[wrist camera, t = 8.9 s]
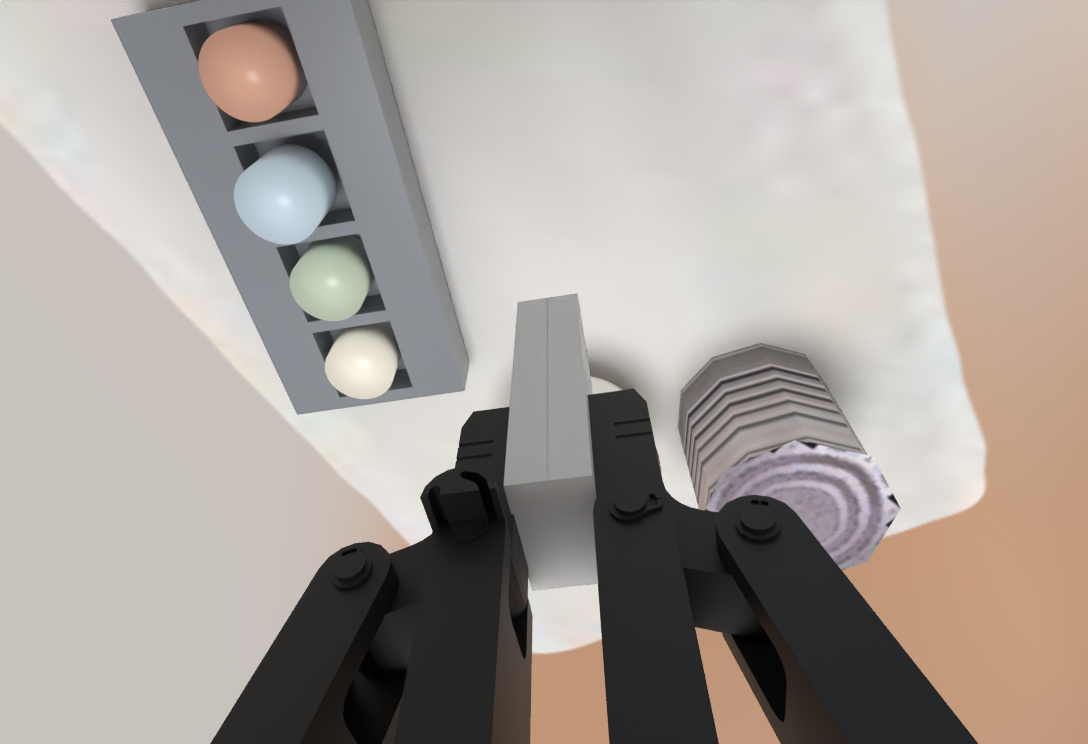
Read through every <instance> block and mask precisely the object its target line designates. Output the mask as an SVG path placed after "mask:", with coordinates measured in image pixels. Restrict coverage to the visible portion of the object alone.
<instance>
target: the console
mask: <svg viewBox="0 0 1088 744" xmlns="http://www.w3.org/2000/svg"><path fill="white" fill-rule="evenodd" d="M253 19H264V20H269V21H272V22H275V23H277V24H279V25H281V26H282V27H284V28H285V29H287V30H288V31H289V32H290V33H291V35H292V38H293V41H294V44H295V47H296V50H297V53H298V56H299V59H300V62H301V64H302V67H303V70H304V73H305V76H306V79H307V82H308V83H307V86H306V89H305V91H304V92H303V94H302V95H301V96H300V98H298V99H297V100H296V101H295V102H293V103H292V104H291V105H289V106H288V107H286V108H285V109H284V110H282V111H281V112H280V113H278V114H277V115H275V116H274V117H272V118H271V119H268V120H266V121H262V122H247V121H242V120H239V119H237V118H234V117H232V116H230V115H229V114H227V113H226V112H224V111H223V110H222V109H220V108H219V107H218V106H217V105H216V104H215V103H214V102H213V100H212V99H211V98H210V97H209V95H208V93H207V92H206V90H205V88H204V86H203V84H202V81H201V78H200V74H199V67H198V60H199V54H200V51H201V48H202V46H203V44H204V42H205V41H206V40H207V39H208V38H209V37H210V36H211V35H212V34H213V33H215V32H217V31H219V30H222V29H225V28H228V27H231V26H233V25H236V24H239V23H242V22H245V21H248V20H253ZM111 21H112V23H113V26H114V28H115V30H116V32H117V34H118V36H119V38H120V40H121V42H122V45H123V47H124V49H125V51H126V53H127V55H128V57H129V59H130V62H131V64H132V66H133V68H134V70H135V72H136V74H137V76H138V78H139V81H140V83H141V85H142V87H143V89H144V91H145V93H146V95H147V98H148V100H149V102H150V104H151V106H152V108H153V110H154V112H155V114H156V117H157V119H158V121H159V123H160V125H161V127H162V129H163V131H164V133H165V136H166V138H167V140H168V142H169V144H170V146H171V148H172V150H173V153H174V155H175V157H176V159H177V161H178V163H179V165H180V167H181V169H182V172H183V174H184V176H185V178H186V180H187V182H188V184H189V186H190V189H191V191H192V193H193V195H194V197H195V199H196V201H197V203H198V205H199V208H200V210H201V212H202V214H203V216H204V218H205V220H206V222H207V225H208V227H209V229H210V231H211V233H212V235H213V237H214V239H215V241H216V244H217V246H218V248H219V250H220V252H221V254H222V256H223V258H224V261H225V263H226V265H227V267H228V269H229V271H230V273H231V275H232V277H233V280H234V282H235V284H236V286H237V288H238V290H239V292H240V294H241V296H242V299H243V301H244V303H245V305H246V307H247V309H248V311H249V313H250V316H251V318H252V320H253V322H254V324H255V326H256V328H257V330H258V332H259V335H260V337H261V339H262V341H263V343H264V345H265V347H266V349H267V352H268V354H269V356H270V358H271V360H272V362H273V364H274V366H275V368H276V371H277V373H278V375H279V377H280V379H281V381H282V383H283V385H284V388H285V390H286V392H287V394H288V396H289V398H290V400H291V402H292V404H293V407H294V409H295V411H296V413H297V415H298V414H305V413H312V412H319V411H326V410H333V409H340V408H347V407H354V406H361V405H368V404H375V403H382V402H389V401H396V400H403V399H410V398H417V397H424V396H431V395H438V394H445V393H452V392H460V391H465V385H466V380H467V374H468V368H469V359H468V356H467V352H466V349H465V345H464V342H463V338H462V334H461V331H460V327H459V324H458V320H457V317H456V313H455V310H454V306H453V302H452V299H451V295H450V292H449V288H448V285H447V281H446V278H445V274H444V270H443V267H442V263H441V260H440V256H439V253H438V249H437V246H436V242H435V238H434V235H433V231H432V228H431V224H430V221H429V217H428V214H427V210H426V206H425V203H424V199H423V196H422V192H421V189H420V185H419V181H418V178H417V174H416V171H415V167H414V164H413V160H412V157H411V153H410V149H409V146H408V142H407V139H406V135H405V132H404V128H403V125H402V121H401V117H400V114H399V110H398V107H397V103H396V100H395V96H394V93H393V89H392V85H391V82H390V78H389V75H388V71H387V68H386V64H385V61H384V57H383V53H382V50H381V46H380V43H379V39H378V36H377V32H376V28H375V25H374V21H373V18H372V14H371V11H370V7H369V4H368V0H198V1H194V2H189V3H184V4H179V5H174V6H170V7H165V8H160V9H155V10H151V11H146V12H141V13H137V14H133V15H128V16H124V17H120V18H115V19H111ZM284 144H295V145H300V146H303V147H306V148H308V149H310V150H312V151H314V152H315V153H317V154H318V155H319V156H320V157H321V158H322V159H323V160H324V161H325V162H326V163H327V164H328V166H329V167H330V169H331V171H332V173H333V175H334V177H335V181H336V187H337V193H336V198H335V202H334V204H333V206H332V207H331V209H330V210H329V212H328V213H327V214H326V216H325V217H324V218H323V220H322V221H321V222H320V224H319V225H318V226H317V228H316V229H315V230H314V232H313V233H312V234H311V235H310V236H309V237H308V238H306V239H305V240H303V241H301V242H298V243H294V244H277V243H273V242H270V241H267V240H265V239H263V238H261V237H259V236H258V235H256V234H255V233H254V232H252V231H251V230H250V229H249V228H248V227H247V226H246V225H245V224H244V222H243V221H242V219H241V218H240V216H239V214H238V212H237V210H236V207H235V203H234V188H235V184H236V182H237V180H238V178H239V176H240V175H241V174H242V173H243V172H244V171H245V170H246V169H247V168H249V167H250V166H251V165H252V164H253V163H255V162H256V161H257V160H258V159H259V158H261V157H262V156H263V155H264V154H265V153H267V152H268V151H269V150H271V149H272V148H274V147H276V146H279V145H284ZM347 235H353V236H355V237H356V238H358V239H360V240H361V241H362V242H363V244H364V247H365V250H366V253H367V256H368V259H369V262H370V265H371V268H372V271H373V273H374V276H375V279H374V281H373V283H372V285H371V287H370V289H369V291H368V293H367V295H366V297H365V299H364V302H363V304H362V306H361V308H360V309H359V310H358V312H357V313H356V314H354V315H353V316H352V317H350V318H348V319H345V320H341V321H325V320H321V319H318V318H316V317H314V316H312V315H310V314H308V313H307V312H306V311H304V310H303V309H302V308H301V307H300V306H299V305H298V304H297V302H296V301H295V299H294V297H293V296H292V293H291V290H290V282H289V281H290V275H291V272H292V270H293V268H294V267H295V265H296V264H297V263H298V261H299V260H300V258H301V257H302V256H303V254H304V253H305V252H306V250H307V249H308V247H309V246H310V245H311V243H312V242H313V241H317V240H323V239H329V238H335V237H341V236H347ZM381 322H389V323H390V324H391V326H392V329H393V331H394V334H395V337H396V340H397V343H398V346H399V349H400V352H401V358H400V361H399V364H398V367H397V370H396V373H395V376H394V379H393V382H392V384H391V386H390V388H389V389H388V390H387V391H386V392H385V393H384V394H382V395H380V396H378V397H375V398H371V399H357V398H353V397H350V396H347V395H345V394H343V393H341V392H340V391H338V390H337V389H336V388H335V387H334V386H333V385H332V384H331V383H330V381H329V380H328V378H327V376H326V373H325V361H326V358H327V356H328V354H329V352H330V350H331V348H332V346H333V344H334V342H335V340H336V338H337V336H338V334H339V332H340V330H341V329H342V328H348V327H355V326H361V325H368V324H374V323H381Z"/></svg>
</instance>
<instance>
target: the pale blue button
mask: <svg viewBox="0 0 1088 744" xmlns="http://www.w3.org/2000/svg"><path fill="white" fill-rule="evenodd" d="M336 193H337V187H336V181H335V177H334V175H333V173H332V171H331V169H330V167H329V166H328V164H327V163H326V162H325V161H324V160H323V159H322V158H321V157H320V156H319V155H318V154H317V153H315V152H314V151H312V150H310V149H308V148H306V147H303V146H300V145H295V144H284V145H279V146H276V147H274V148H272V149H271V150H269V151H268V152H267V153H265V154H264V155H263V156H262V157H261V158H259V159H258V160H257V161H256V162H255V163H253V164H252V165H251V166H250V167H249V168H247V169H246V170H245V171H244V172H243V173H242V174H241V175H240V176H239V178H238V180H237V182H236V184H235V188H234V203H235V207H236V210H237V212H238V214H239V216H240V218H241V219H242V221H243V222H244V224H245V225H246V226H247V227H248V228H249V229H250V230H251V231H252V232H254V233H255V234H256V235H258V236H259V237H261V238H263V239H265V240H267V241H270V242H273V243H277V244H294V243H298V242H301V241H303V240H305V239H306V238H308V237H309V236H310V235H311V234H312V233H313V232H314V230H315V229H316V228H317V226H318V225H319V224H320V222H321V221H322V220H323V218H324V217H325V216H326V214H327V213H328V212H329V210H330V209H331V207H332V206H333V204H334V202H335V198H336Z"/></svg>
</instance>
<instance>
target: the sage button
mask: <svg viewBox="0 0 1088 744" xmlns="http://www.w3.org/2000/svg"><path fill="white" fill-rule="evenodd" d="M374 279H375V276H374V273H373V271H372V268H371V265H370V262H369V259H368V256H367V253H366V250H365V247H364V244H363V242H362V241H361V240H360V239H358V238H356V237H355V236H353V235H347V236H341V237H335V238H329V239H323V240H317V241H313V242H312V243H311V245H310V246H309V247H308V249H307V250H306V252H305V253H304V254H303V256H302V257H301V258H300V260H299V261H298V263H297V264H296V265H295V267H294V268H293V270H292V272H291V275H290V281H289V282H290V290H291V293H292V296H293V297H294V299H295V301H296V302H297V304H298V305H299V306H300V307H301V308H302V309H303V310H304V311H306V312H307V313H308V314H310V315H312V316H314V317H316V318H318V319H321V320H325V321H341V320H345V319H348V318H350V317H352V316H353V315H354V314H356V313H357V312H358V310H359V309H360V308H361V306H362V304H363V302H364V299H365V297H366V295H367V293H368V291H369V289H370V287H371V285H372V283H373V281H374Z"/></svg>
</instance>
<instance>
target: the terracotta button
mask: <svg viewBox="0 0 1088 744" xmlns="http://www.w3.org/2000/svg"><path fill="white" fill-rule="evenodd" d="M198 67H199V74H200V78H201V81H202V84H203V86H204V88H205V90H206V92H207V93H208V95H209V97H210V98H211V99H212V100H213V102H214V103H215V104H216V105H217V106H218V107H219V108H220V109H222V110H223V111H224V112H226V113H227V114H229V115H230V116H232V117H234V118H237V119H239V120H242V121H247V122H262V121H266V120H268V119H271V118H272V117H274V116H275V115H277V114H278V113H280V112H281V111H282V110H284V109H285V108H286V107H288V106H289V105H291V104H292V103H293V102H295V101H296V100H297V99H298V98H300V96H301V95H302V94H303V92H304V91H305V89H306V86H307V83H308V82H307V79H306V76H305V73H304V70H303V67H302V64H301V62H300V59H299V56H298V53H297V50H296V47H295V44H294V41H293V38H292V35H291V33H290V32H289V31H288V30H287V29H285V28H284V27H282V26H281V25H279V24H277V23H275V22H272V21H269V20H264V19H253V20H248V21H245V22H242V23H239V24H236V25H233V26H231V27H228V28H225V29H222V30H219V31H217V32H215V33H213V34H212V35H211V36H210V37H209V38H208V39H207V40H206V41H205V42H204V44H203V46H202V48H201V51H200V54H199V60H198Z"/></svg>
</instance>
